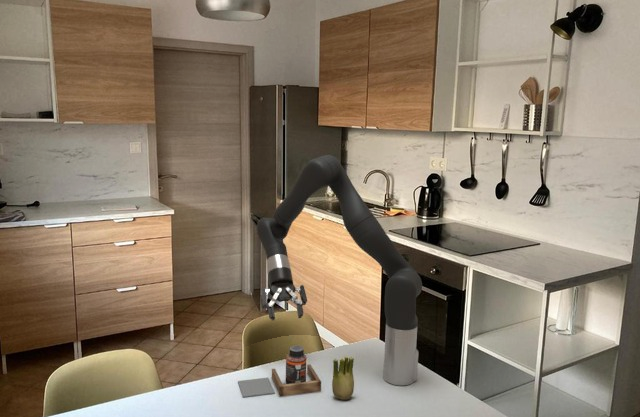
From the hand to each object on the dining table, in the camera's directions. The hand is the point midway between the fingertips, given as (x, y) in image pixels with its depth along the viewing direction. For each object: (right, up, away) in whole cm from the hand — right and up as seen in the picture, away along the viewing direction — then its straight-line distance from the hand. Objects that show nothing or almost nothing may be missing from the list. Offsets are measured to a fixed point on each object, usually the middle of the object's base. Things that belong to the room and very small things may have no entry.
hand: (287, 318), depth 164 cm
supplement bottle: (+3, -18, -8) cm, 20 cm away
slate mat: (-8, -18, -11) cm, 22 cm away
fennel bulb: (+17, -19, -14) cm, 29 cm away
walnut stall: (+3, -18, -8) cm, 20 cm away
